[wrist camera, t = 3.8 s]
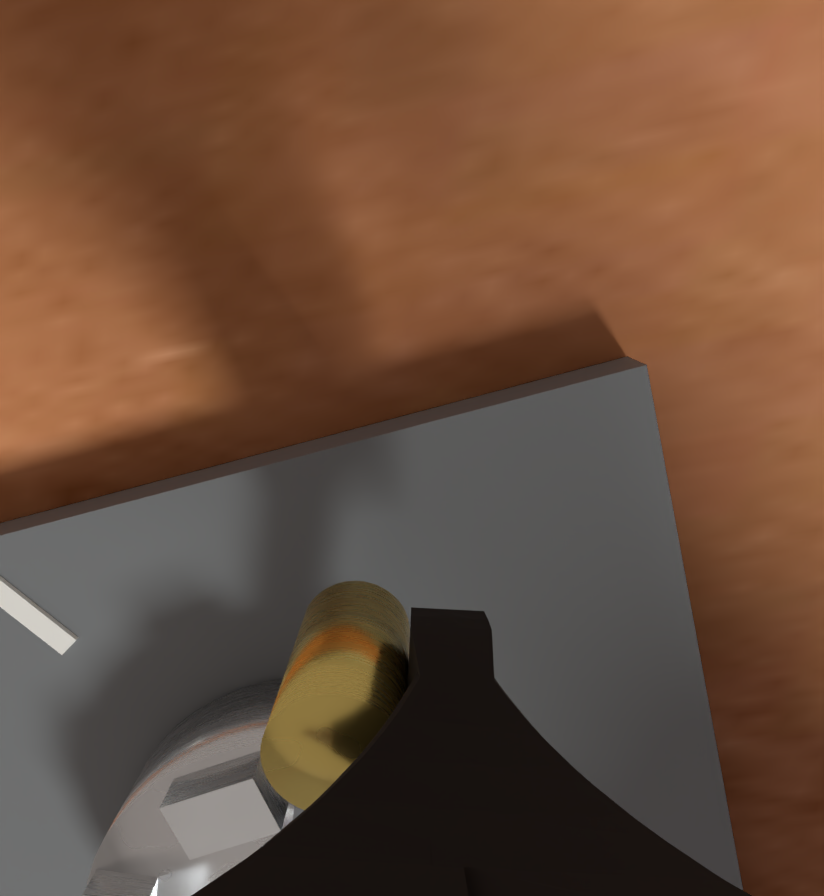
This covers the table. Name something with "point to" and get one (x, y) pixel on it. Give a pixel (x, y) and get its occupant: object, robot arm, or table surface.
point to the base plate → (378, 562)
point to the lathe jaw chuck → (259, 751)
